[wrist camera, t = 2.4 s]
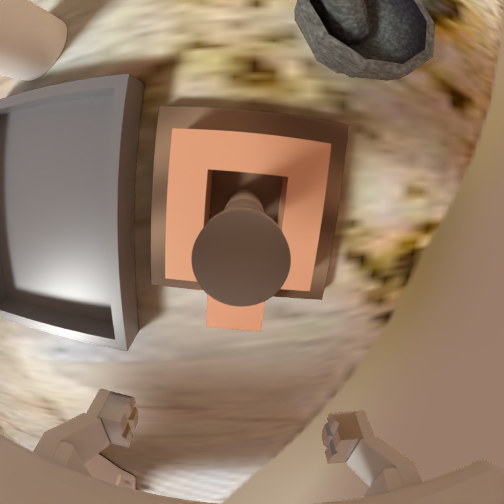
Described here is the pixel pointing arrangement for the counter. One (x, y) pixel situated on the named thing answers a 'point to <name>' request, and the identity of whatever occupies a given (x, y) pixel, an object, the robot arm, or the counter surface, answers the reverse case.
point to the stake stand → (244, 210)
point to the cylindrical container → (28, 39)
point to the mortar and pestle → (367, 35)
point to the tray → (71, 209)
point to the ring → (251, 161)
